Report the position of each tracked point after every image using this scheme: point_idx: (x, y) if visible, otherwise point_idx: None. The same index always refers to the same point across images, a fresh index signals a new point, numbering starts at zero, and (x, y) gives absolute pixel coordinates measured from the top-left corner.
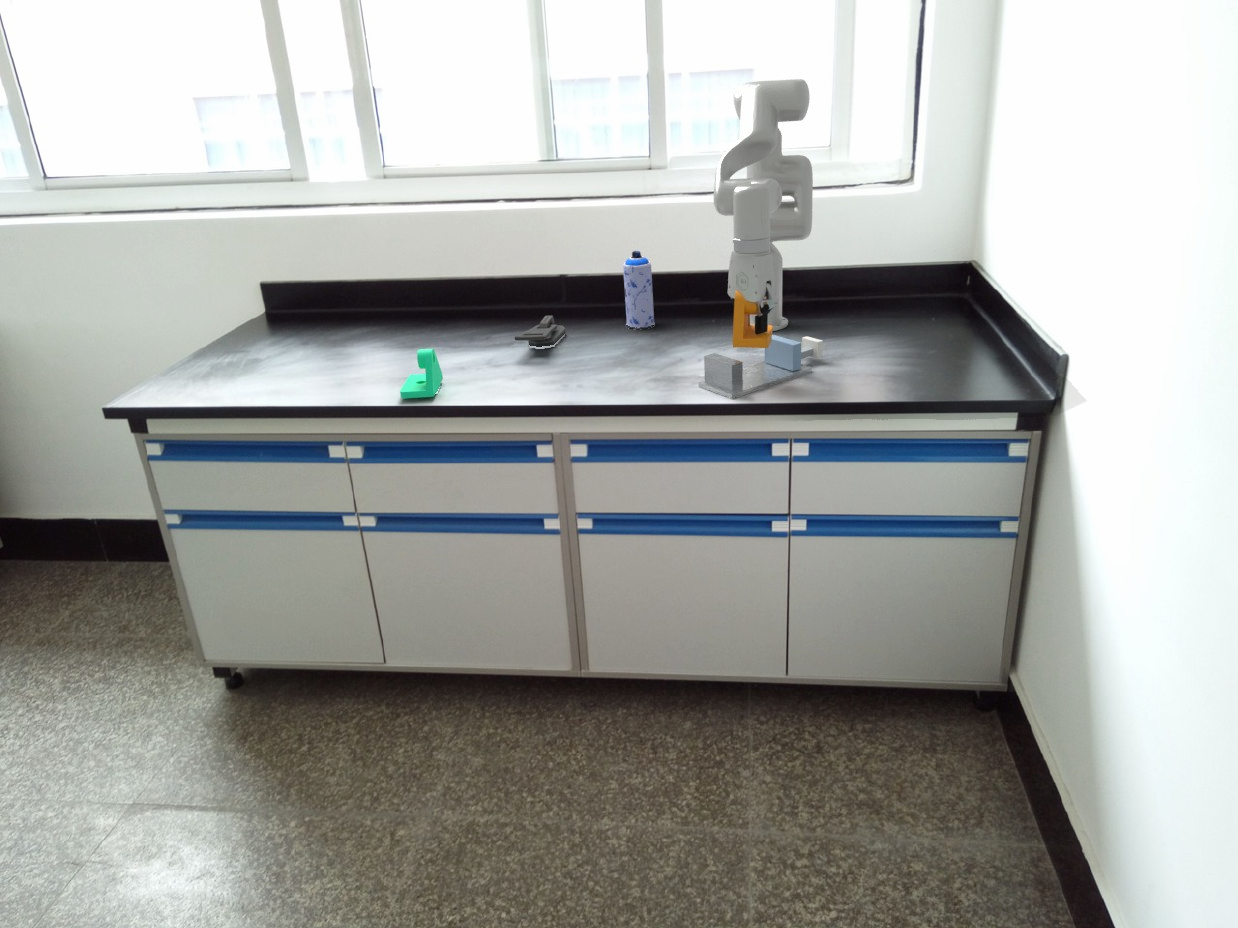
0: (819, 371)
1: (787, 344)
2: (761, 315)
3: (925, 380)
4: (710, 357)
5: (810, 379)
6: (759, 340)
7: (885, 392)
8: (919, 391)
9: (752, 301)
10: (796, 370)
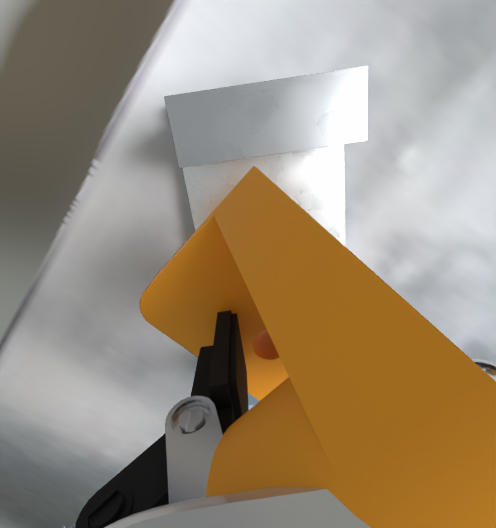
0: None
1: (255, 402)
2: (176, 415)
3: (63, 497)
4: (329, 81)
5: (189, 358)
6: (154, 279)
7: (33, 421)
8: (12, 463)
9: (164, 524)
10: None
